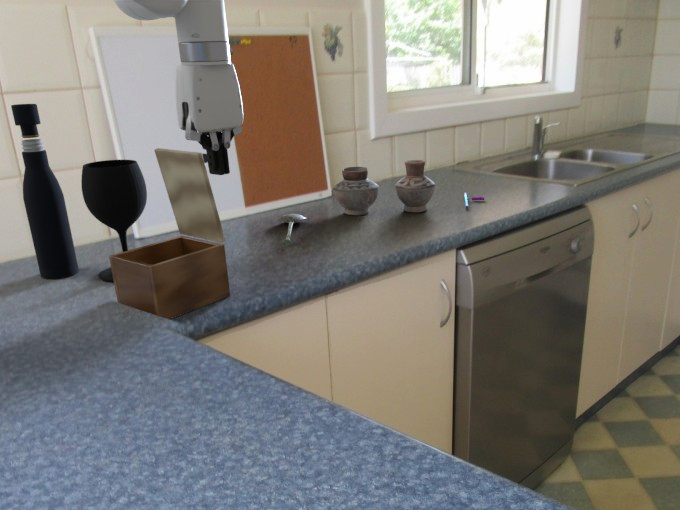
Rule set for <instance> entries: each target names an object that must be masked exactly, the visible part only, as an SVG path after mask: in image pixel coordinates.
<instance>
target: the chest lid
mask: <svg viewBox="0 0 680 510" xmlns="http://www.w3.org/2000/svg"><path fill="white" fill-rule="evenodd" d="M154 154H155V157H156V160H157V163H158V168H159V170H160V174H161V177H162V181H163V183H164V187H165V190H166V193H167V196H168V200H169V203H170V205H171V209H172V213H173V216H174V219H175V223H176V225H177V229H178V232H179V234H180V235H183V236H188V237H192V238H197V239H202V240H207V241H211V242H216V243H224V242H226V236H225V233H224V229H223V226H222V221H221V218H220V214H219V211H218V207H217V204H216V200H215V196H214V193H213V189H212V185H211V181H210V178H209V174H208V171H207V167H206V164H208V161H209V156H208V155H207V153H202V152H199V151H187V150H178V149H170V148H161V147H160V148H159V147H157V148H155V149H154Z"/></svg>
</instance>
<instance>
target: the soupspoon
mask: <svg viewBox="0 0 680 510" xmlns="http://www.w3.org/2000/svg"><path fill="white" fill-rule="evenodd" d="M304 220H307V217H305V216H304V215H302V214H299V213H287V214H283V215H282V216H280V217H279V218H278V219H277V221H279V222H284V223H286V224H288V226H287V234H286V236H285V239H283V240H282V245H283V246H284V247H291V245H292V240H291V239H292V238H291V234H292V230H293V225H294V224H297V223H299V222H302V221H304Z"/></svg>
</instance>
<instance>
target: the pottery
mask: <svg viewBox="0 0 680 510" xmlns="http://www.w3.org/2000/svg"><path fill="white" fill-rule="evenodd" d="M425 165H426V161H425V160H423V159H411V160H405V161H404V166H405V173H406V175H405V176H404V177H403V178H401V179H399V181H397V182H396V183H395V184H394V189H395V192H396V195H397V197H398V200H399V201H400V202H401V203H402V204H403V205H404V206H403V211H405V212H407V213H422V212H426V211H427V210H428V208H427V204H428V203H429V202H430V201H431V199H432V197H433V195H434V192H435V189H436V183H435V182H434V181H433V180H432V179H431V178H429V177H427V176H426V175H425V174H424V173H425ZM341 175H342V178H343V179H342V180H340V181H339V182H338V183H336V184H335V185H334V186H333V187H332V193H333V196H334V198H335V200H336V201H337V203H338V204H339V205H340V206H341V207H342V208H343V209H344V214H346V215H347V216H348V215H350V216H364V215H367V214H369V211H370V208H371V206H373V204H374V203H375V202H376V200H377V198H378V196H379V192H380V186H379V184H377V183H376V182H375V181H373V180H371V179H369V178H368V176H369V168H368V167H365V166H348V167H344V168H342V170H341Z"/></svg>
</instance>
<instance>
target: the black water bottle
mask: <svg viewBox="0 0 680 510" xmlns="http://www.w3.org/2000/svg"><path fill="white" fill-rule="evenodd" d="M10 107H11V111H12V112H11V113H12V116H13V121H14V125H15V126H18V127H20V131H21V137H22V140H21V143H20V145H21V146H22V148H21V149H22V150H23V151H22V152H21V156H22V160H23V165H24V174H23V181H22V199H23V204H24V209H25V214H26V217H27V222H28V227H29V230H30V235H31V239H32V243H33V248H34V252H35V253H34V254H35V257H36V262H37V266H38V270H39V276H40V277H41V278H42V279H45V280H58V279H64V278H69V277H72V276H75V275H77V274H78V273H79V272H80V269H79V264H78V259H77V255H76V250H75V244H74V239H73V234H72V230H71V229H72V228H71V226H70V225H71V224H70V220H69V215H68V210H67V205H66V199H65V194H64V192H63V190H62V187H61V184H60V182H59V181H58V179H57V177H56V175H55V173H54V171H53V169H51V167H50V164H49V159H48V158H49V157H48V153H47V150H46V149H44V148H45V146H44V145H43V144H44V142H43V141H42V139H41V138H38V137H40V134H39V130H38V125H41V118H40V114H39V109H38V105H37V103H19V104H17V103H16V104H12V105H10Z"/></svg>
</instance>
